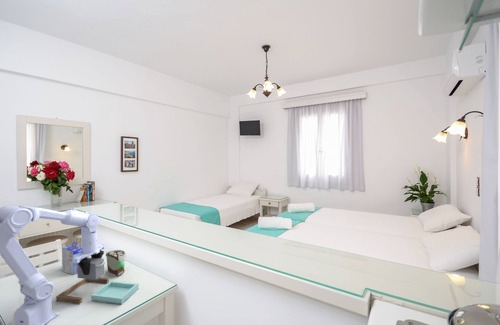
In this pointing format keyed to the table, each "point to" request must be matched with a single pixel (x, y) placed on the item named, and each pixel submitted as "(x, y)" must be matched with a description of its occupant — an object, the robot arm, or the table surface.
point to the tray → (115, 292)
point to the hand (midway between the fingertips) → (91, 271)
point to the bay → (72, 299)
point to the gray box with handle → (93, 269)
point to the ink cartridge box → (70, 258)
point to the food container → (116, 262)
